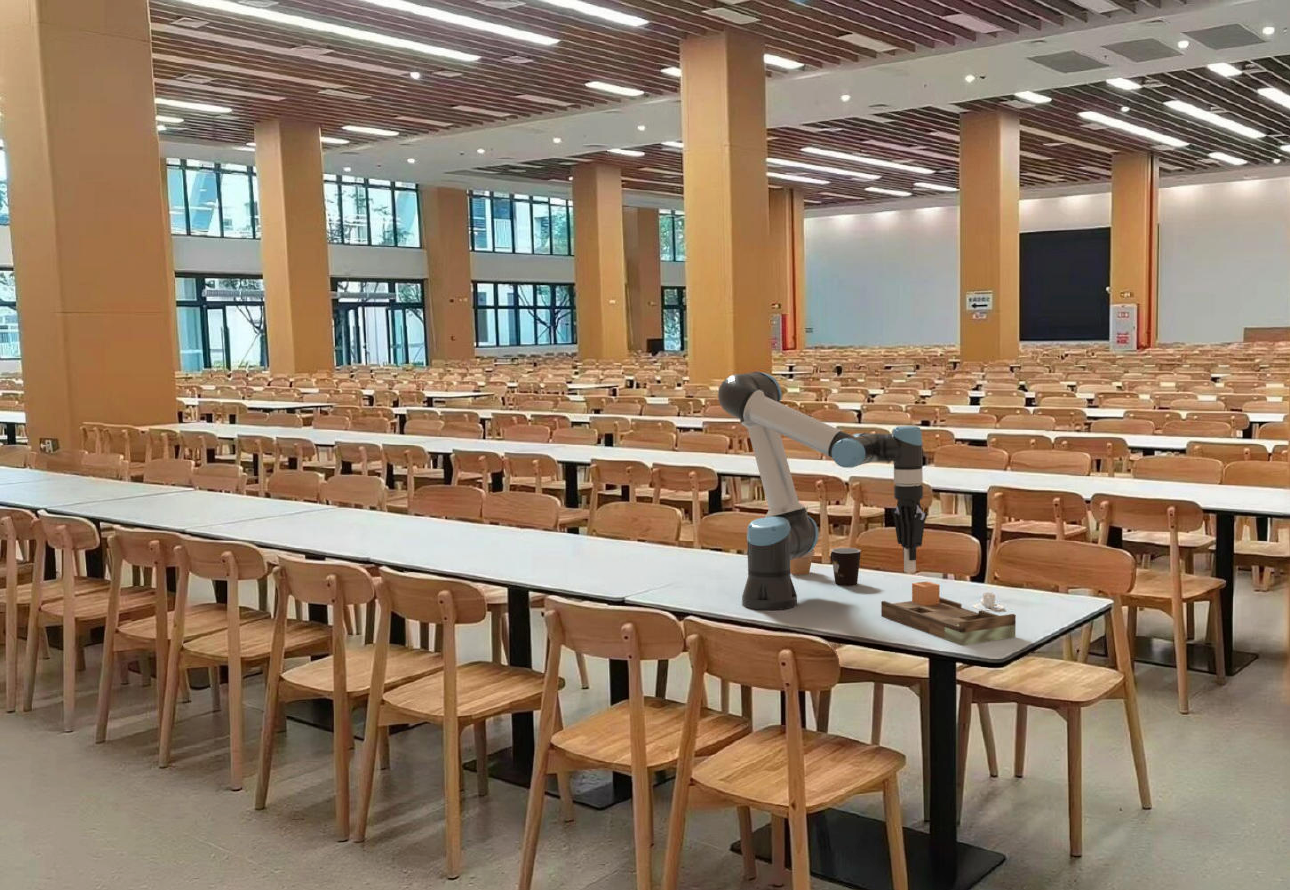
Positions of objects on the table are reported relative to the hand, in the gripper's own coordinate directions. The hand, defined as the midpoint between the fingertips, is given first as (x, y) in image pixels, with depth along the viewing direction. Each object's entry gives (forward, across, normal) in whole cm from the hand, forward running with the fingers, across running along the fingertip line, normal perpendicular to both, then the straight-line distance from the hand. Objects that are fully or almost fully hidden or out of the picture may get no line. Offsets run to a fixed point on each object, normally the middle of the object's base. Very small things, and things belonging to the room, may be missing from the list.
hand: (910, 571), depth 325 cm
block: (+7, -7, 0) cm, 10 cm away
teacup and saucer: (+11, -9, -22) cm, 26 cm away
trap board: (+10, -20, +4) cm, 22 cm away
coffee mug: (+10, +36, -3) cm, 37 cm away
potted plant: (+9, +55, +2) cm, 56 cm away
